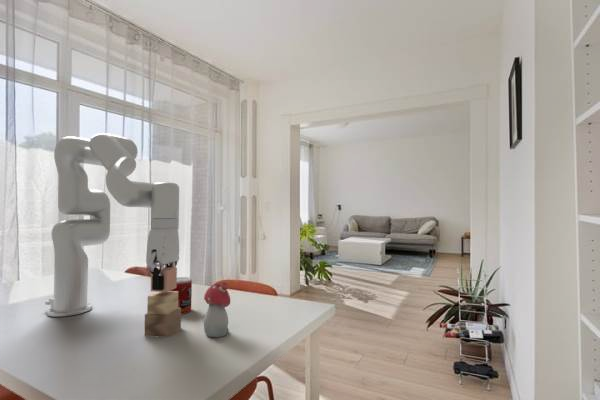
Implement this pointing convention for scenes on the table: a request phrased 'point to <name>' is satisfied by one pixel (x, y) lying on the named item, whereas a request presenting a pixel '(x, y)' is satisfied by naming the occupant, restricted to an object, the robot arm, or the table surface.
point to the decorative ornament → (217, 310)
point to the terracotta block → (168, 279)
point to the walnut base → (162, 324)
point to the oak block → (162, 302)
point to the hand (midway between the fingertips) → (163, 286)
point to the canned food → (184, 293)
